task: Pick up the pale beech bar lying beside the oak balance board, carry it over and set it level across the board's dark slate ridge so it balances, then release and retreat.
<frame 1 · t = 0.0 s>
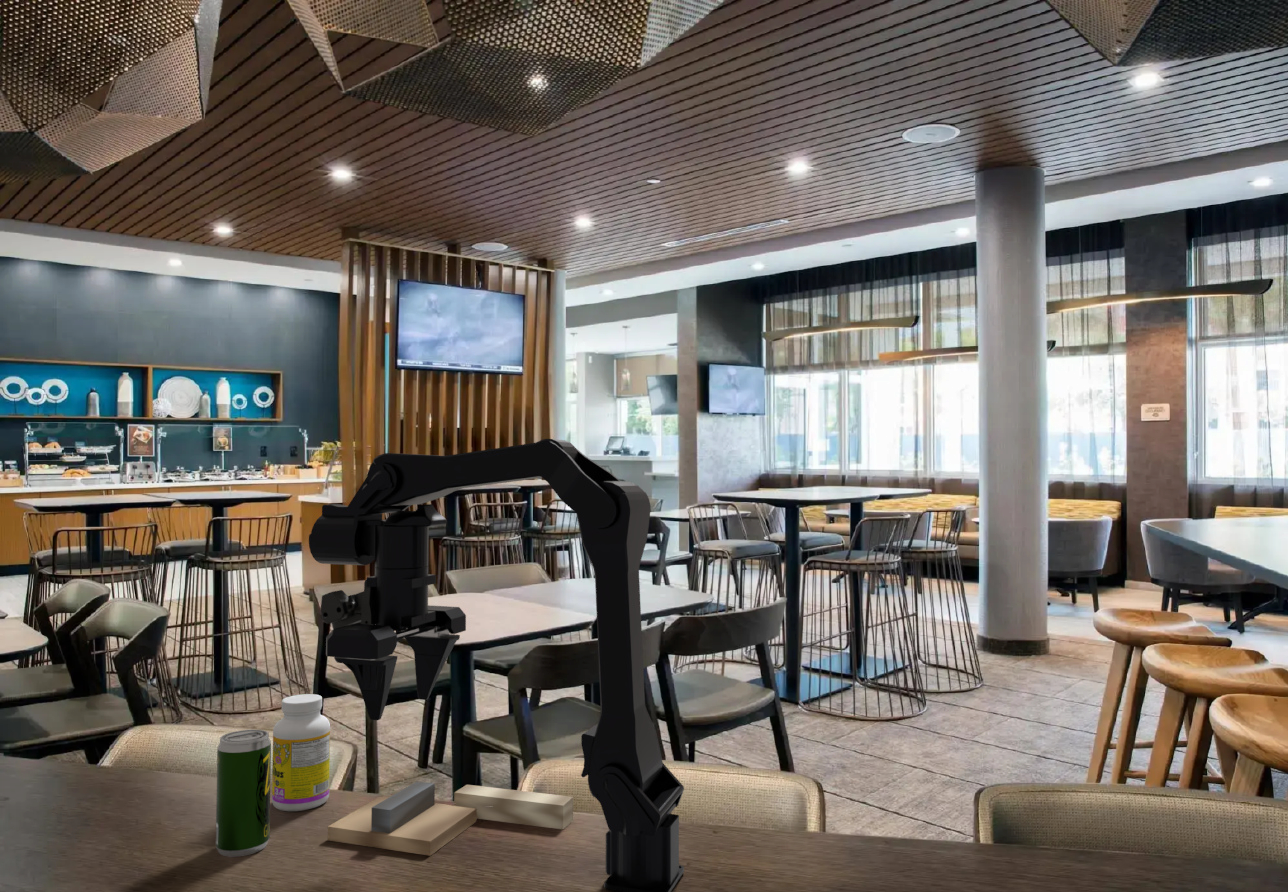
hand: (400, 709, 99), 15 cm above the table, fingers open, 9 cm apart
beer can: (242, 849, 97), on the table
balance board: (404, 830, 102), on the table
rod: (513, 820, 106), on the table
supplement bottle: (300, 804, 111), on the table
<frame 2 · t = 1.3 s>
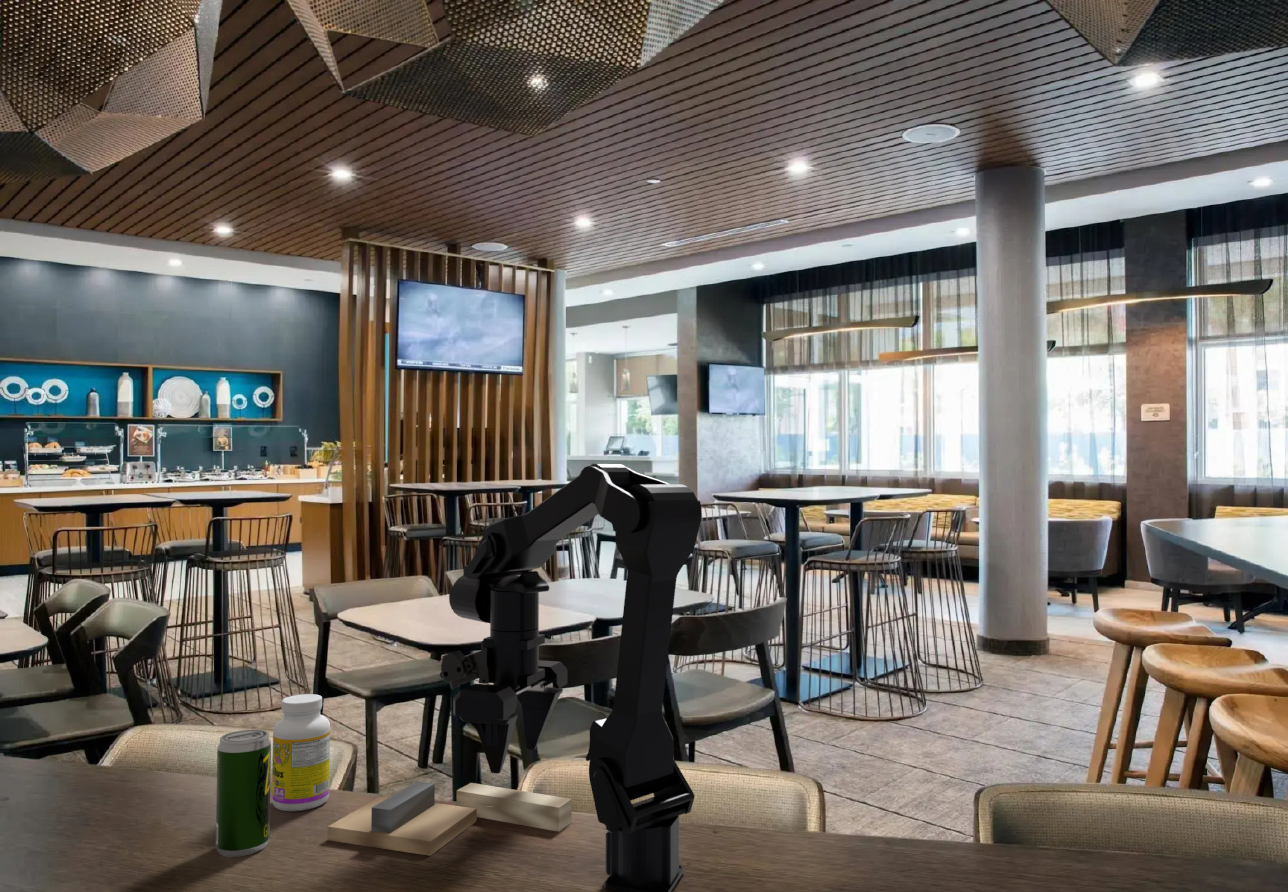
hand: (514, 760, 106), 7 cm above the table, fingers open, 9 cm apart
nothing on the table moved.
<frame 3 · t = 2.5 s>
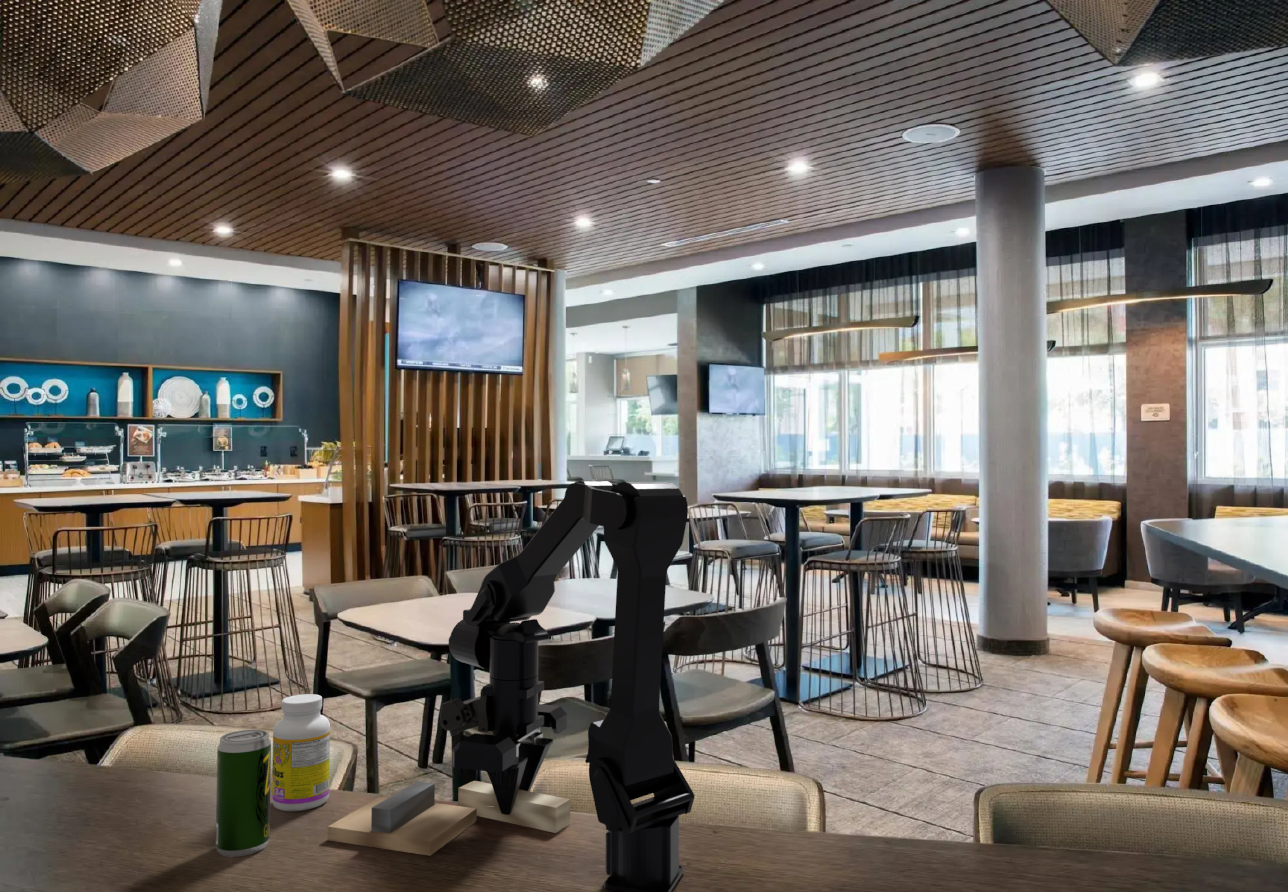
hand: (513, 808, 106), 1 cm above the table, fingers closed on rod, 3 cm apart
rod: (513, 819, 106), on the table, touching gripper
everything else where it was.
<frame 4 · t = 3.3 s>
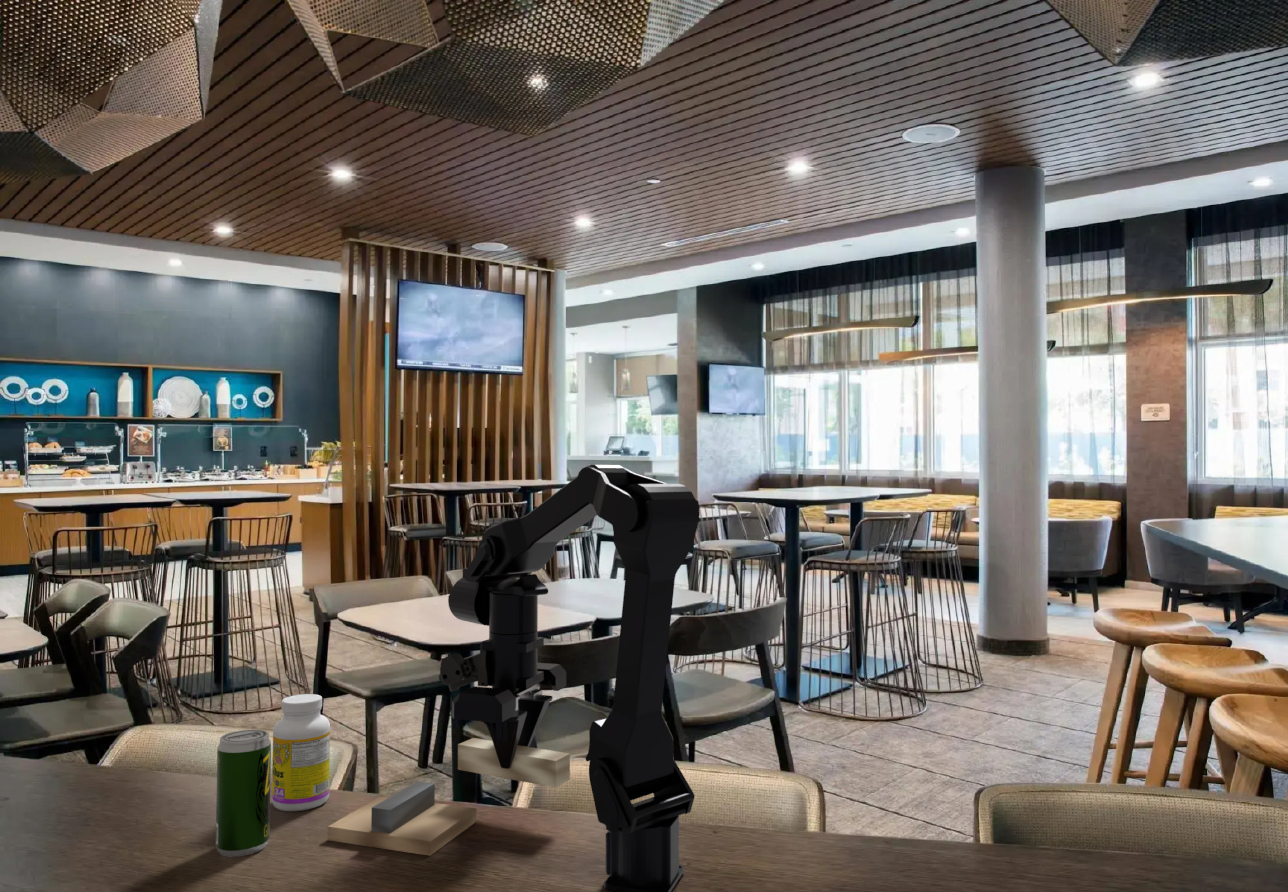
hand: (512, 763, 106), 6 cm above the table, fingers closed on rod, 3 cm apart
rod: (512, 774, 106), point 5 cm above the table, touching gripper
everything else where it was.
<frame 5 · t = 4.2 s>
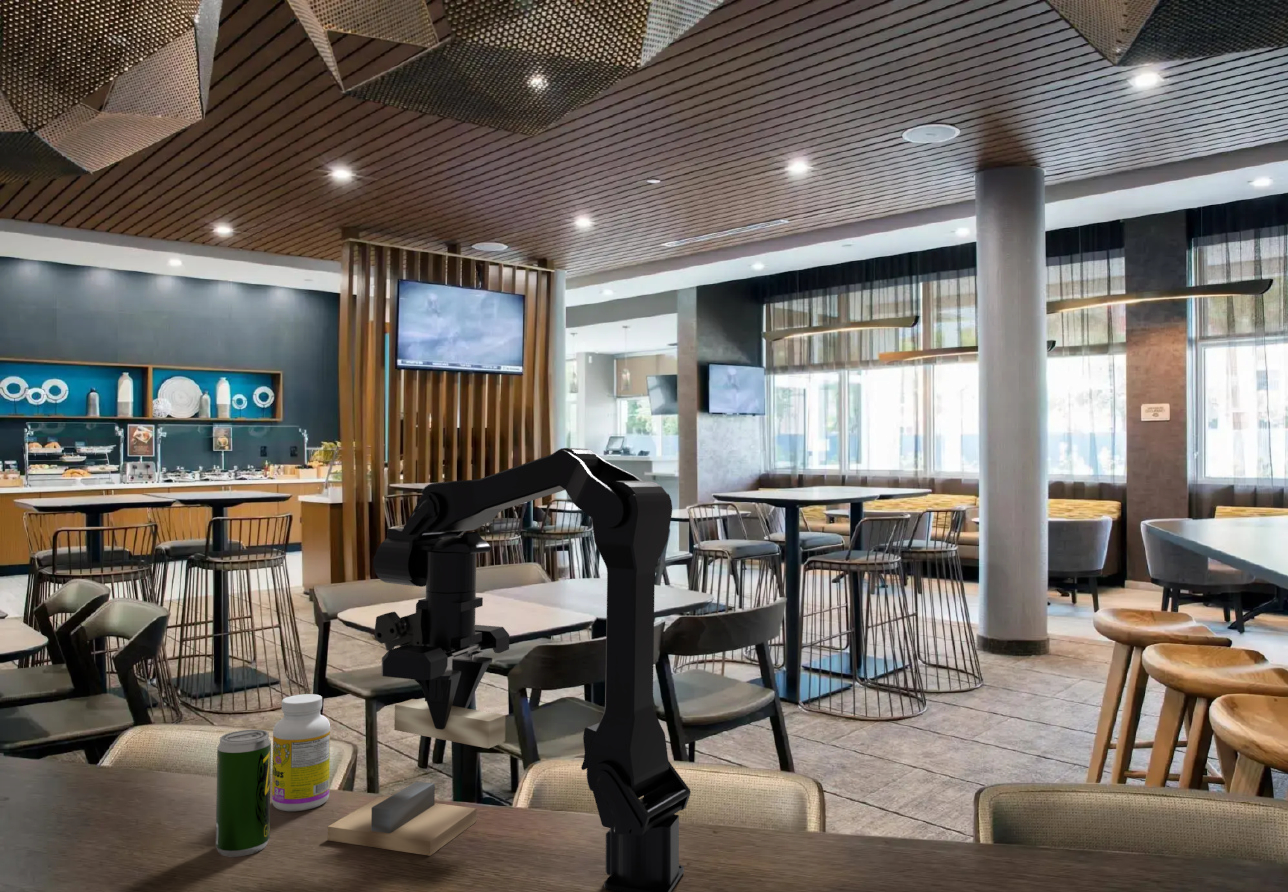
hand: (448, 724, 104), 11 cm above the table, fingers closed on rod, 3 cm apart
rod: (448, 735, 104), point 10 cm above the table, touching gripper
everything else where it was.
when the fingers open (5 cm above the table, at t = 5.8 s): rod stays where it is, resting on balance board.
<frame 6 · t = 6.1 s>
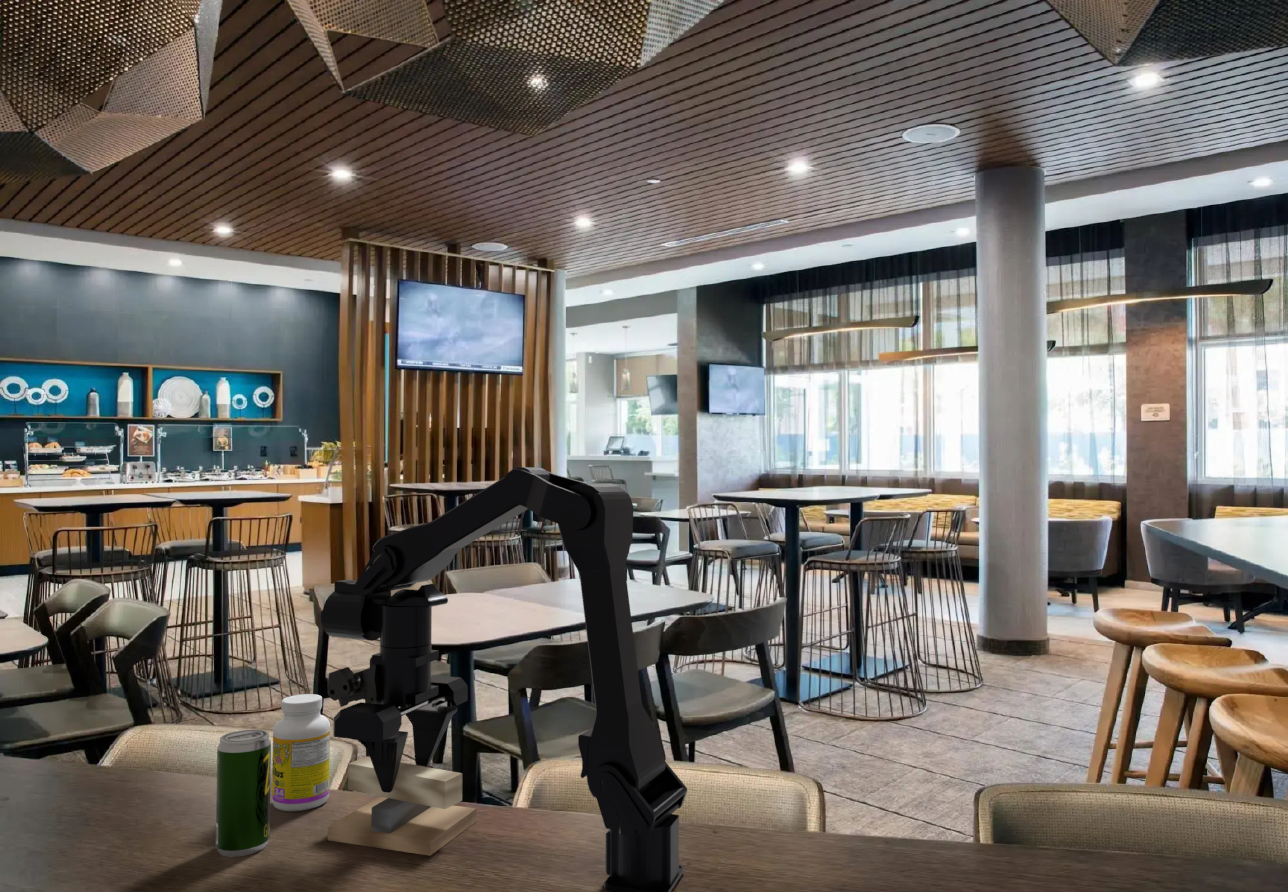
hand: (404, 781, 102), 5 cm above the table, fingers open, 7 cm apart
rod: (404, 794, 102), point 4 cm above the table, touching balance board
everything else where it was.
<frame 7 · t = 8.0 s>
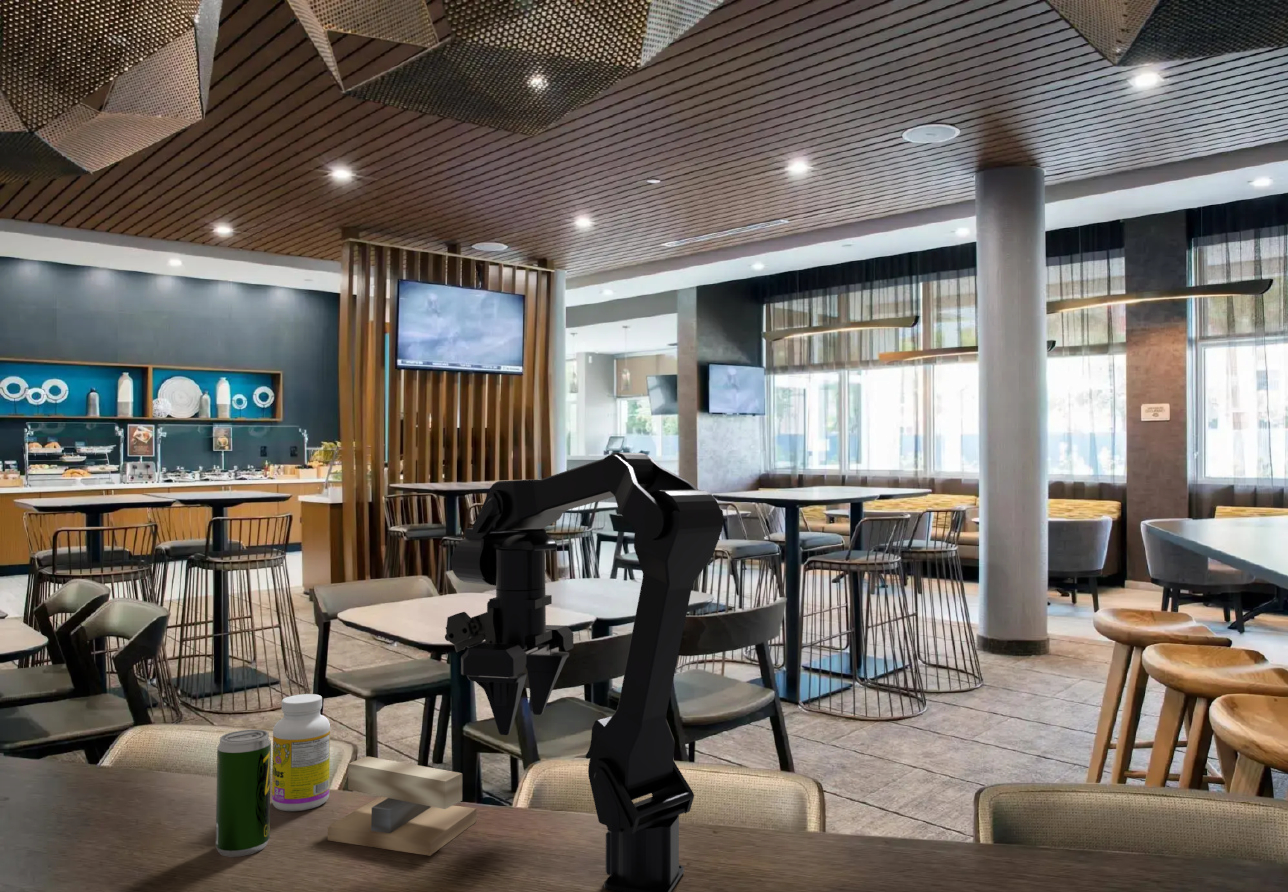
hand: (521, 724, 104), 12 cm above the table, fingers open, 9 cm apart
nothing on the table moved.
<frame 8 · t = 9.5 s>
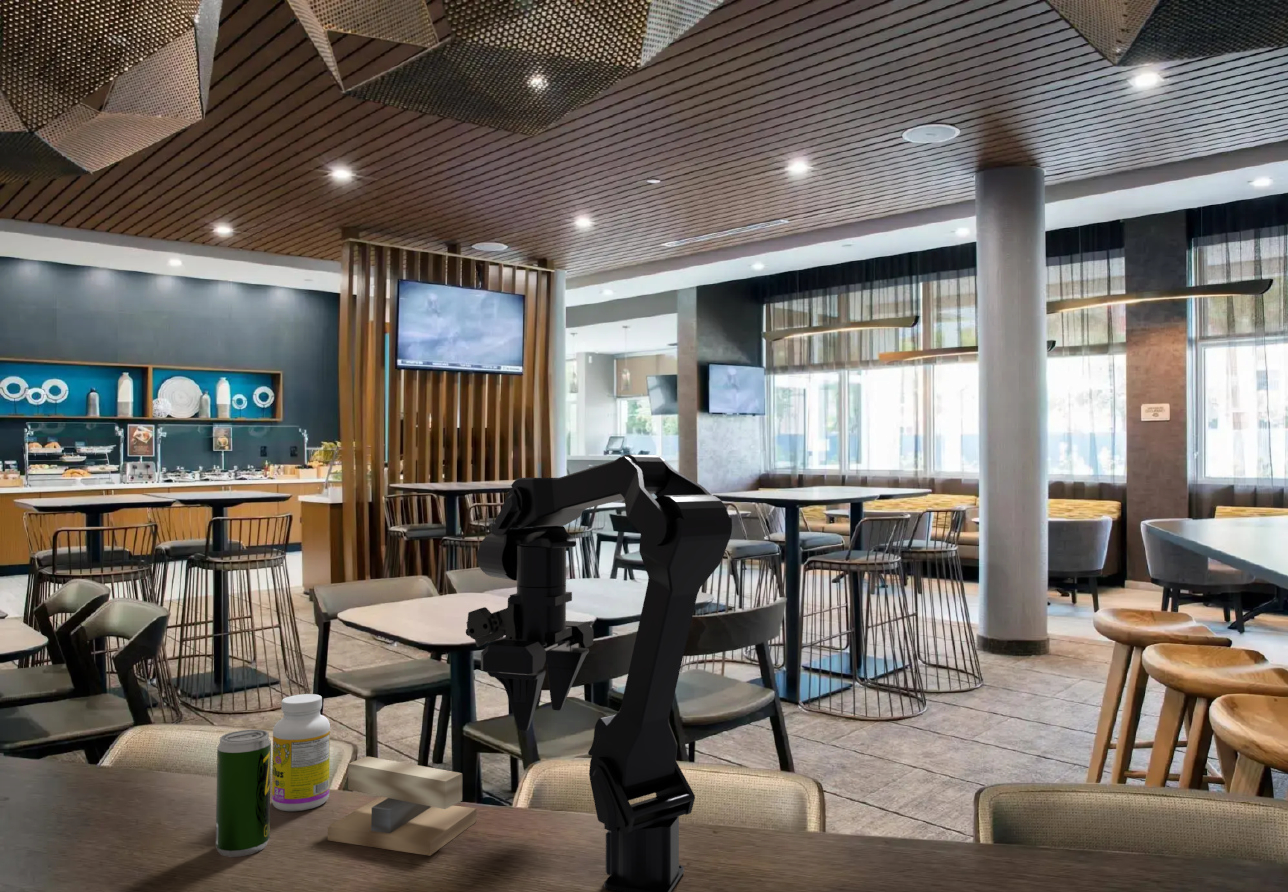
hand: (540, 719, 104), 12 cm above the table, fingers open, 9 cm apart
nothing on the table moved.
at the end: rod 0.0 cm off-centre on the balance board, point 4.0 cm above the balance board's base; rod tilted 0°; the gripper is holding nothing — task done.
